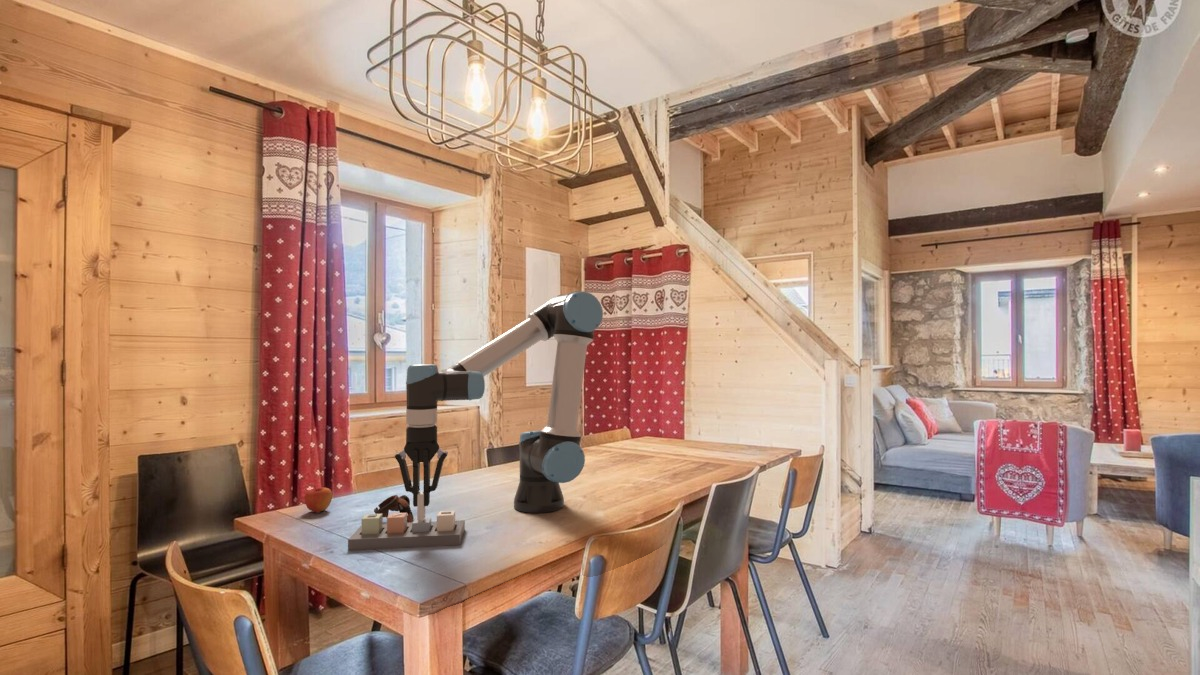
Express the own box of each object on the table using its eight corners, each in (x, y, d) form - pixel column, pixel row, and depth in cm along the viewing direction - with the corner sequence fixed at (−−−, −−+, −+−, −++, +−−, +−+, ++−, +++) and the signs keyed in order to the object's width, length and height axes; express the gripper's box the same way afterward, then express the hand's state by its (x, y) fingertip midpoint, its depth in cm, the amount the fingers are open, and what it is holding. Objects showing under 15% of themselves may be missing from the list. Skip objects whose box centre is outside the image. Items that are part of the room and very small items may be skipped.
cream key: (455, 526, 148) (455, 509, 148) (453, 531, 144) (453, 514, 144) (439, 527, 147) (439, 510, 147) (436, 531, 143) (436, 514, 143)
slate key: (431, 533, 147) (431, 517, 147) (428, 538, 143) (428, 521, 143) (415, 534, 146) (415, 517, 147) (412, 539, 142) (412, 522, 143)
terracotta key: (407, 528, 146) (407, 511, 146) (403, 533, 142) (403, 516, 142) (390, 529, 146) (390, 512, 146) (386, 534, 142) (386, 516, 142)
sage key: (382, 529, 145) (382, 512, 146) (378, 534, 142) (378, 517, 142) (366, 530, 145) (366, 513, 145) (361, 535, 141) (361, 518, 141)
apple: (337, 508, 173) (337, 482, 173) (321, 515, 166) (321, 487, 166) (315, 507, 174) (315, 481, 174) (298, 514, 167) (298, 487, 167)
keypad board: (464, 529, 152) (464, 520, 152) (459, 544, 140) (459, 534, 140) (362, 534, 149) (362, 524, 149) (347, 550, 137) (348, 539, 137)
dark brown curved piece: (409, 528, 155) (392, 504, 154) (380, 542, 157) (364, 518, 155) (424, 505, 167) (409, 482, 165) (398, 518, 168) (382, 495, 167)
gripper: (450, 423, 150) (449, 513, 149) (398, 423, 148) (397, 515, 148) (446, 426, 142) (445, 522, 142) (391, 427, 141) (391, 524, 140)
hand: (421, 518), depth 145 cm, fingers closed
